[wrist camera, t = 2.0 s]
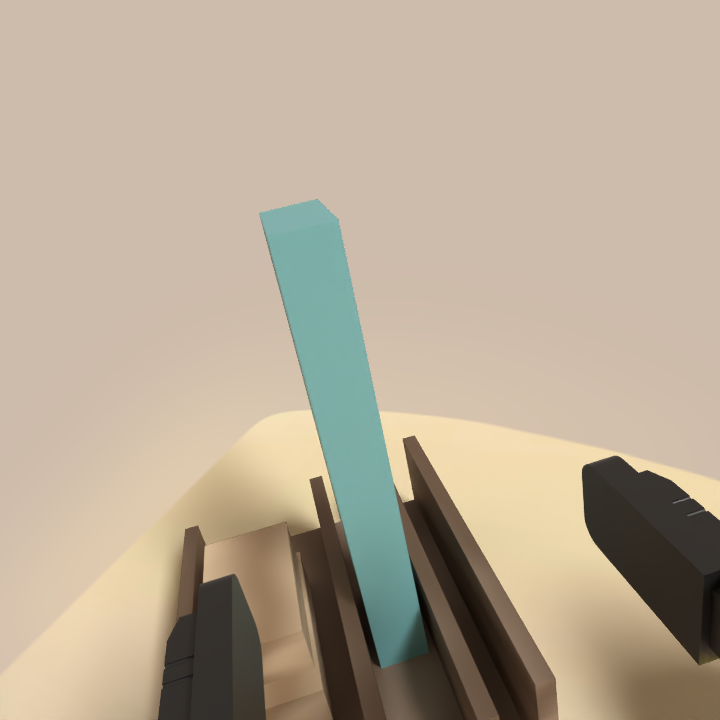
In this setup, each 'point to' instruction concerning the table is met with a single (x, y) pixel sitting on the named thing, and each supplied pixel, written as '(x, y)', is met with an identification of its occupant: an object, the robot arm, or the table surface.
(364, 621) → the wooden rack
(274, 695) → the lower oak offcut
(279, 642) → the upper oak offcut
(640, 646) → the table surface
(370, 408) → the teal board
